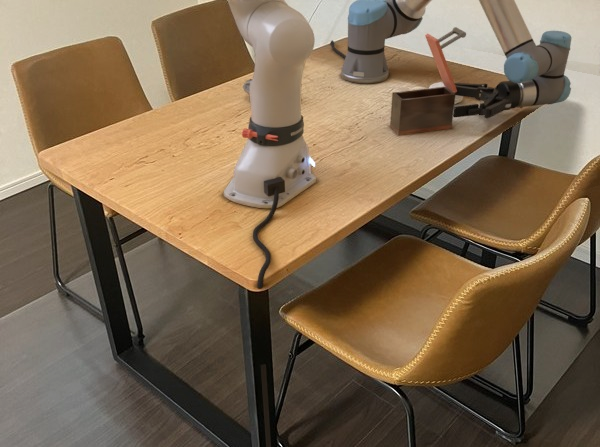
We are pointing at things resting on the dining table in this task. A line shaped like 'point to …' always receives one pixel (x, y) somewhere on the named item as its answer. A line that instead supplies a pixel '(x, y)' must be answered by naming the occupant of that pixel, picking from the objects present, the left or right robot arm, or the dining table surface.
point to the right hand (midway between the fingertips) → (442, 102)
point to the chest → (422, 110)
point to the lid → (439, 55)
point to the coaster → (440, 84)
